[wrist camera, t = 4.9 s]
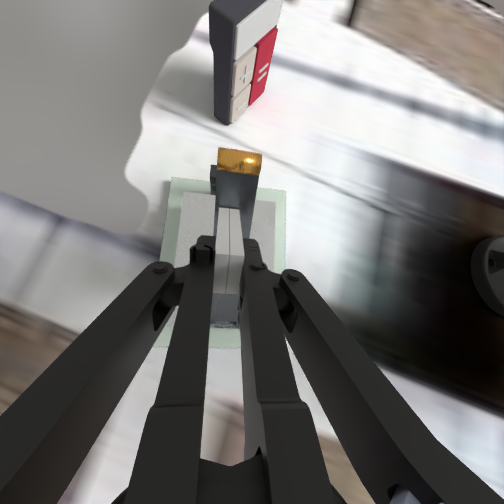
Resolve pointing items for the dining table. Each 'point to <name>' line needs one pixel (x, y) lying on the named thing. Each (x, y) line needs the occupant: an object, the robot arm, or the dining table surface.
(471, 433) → the dining table surface
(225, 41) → the calculator
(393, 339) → the dining table surface
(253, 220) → the knife switch
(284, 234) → the board
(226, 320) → the lever
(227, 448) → the dining table surface
